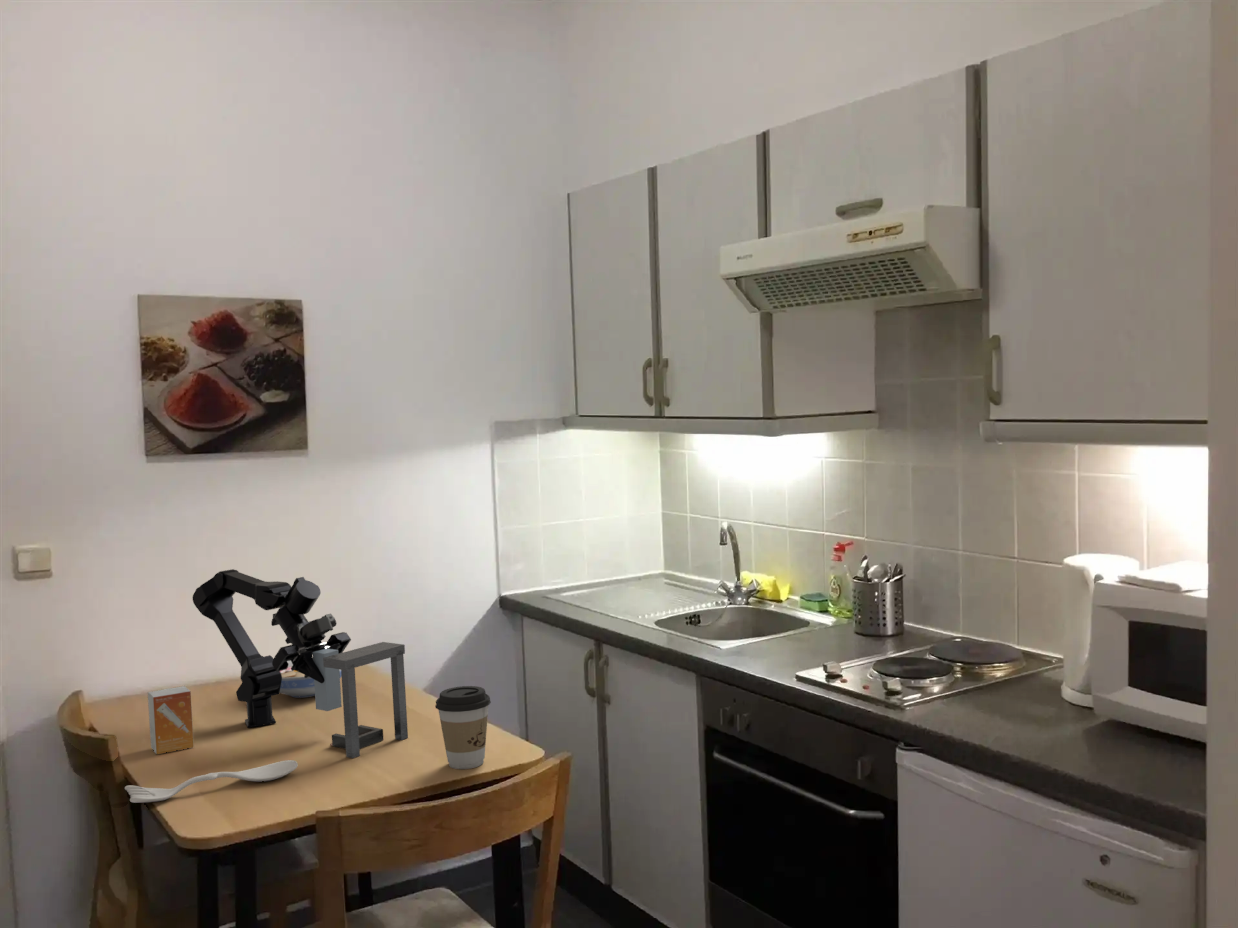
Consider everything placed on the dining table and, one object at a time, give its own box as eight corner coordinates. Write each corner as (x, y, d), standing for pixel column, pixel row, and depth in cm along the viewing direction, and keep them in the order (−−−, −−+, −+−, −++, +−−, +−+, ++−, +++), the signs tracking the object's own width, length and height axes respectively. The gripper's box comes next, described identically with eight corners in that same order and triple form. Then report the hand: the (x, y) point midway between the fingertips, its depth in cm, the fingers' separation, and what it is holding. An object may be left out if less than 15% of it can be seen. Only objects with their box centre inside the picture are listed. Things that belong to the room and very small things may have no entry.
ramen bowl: (285, 682, 303) (283, 653, 302) (364, 681, 300) (363, 652, 299) (242, 707, 278) (240, 675, 278) (328, 707, 275) (326, 674, 275)
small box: (156, 755, 241) (152, 696, 240) (150, 748, 246) (146, 691, 245) (194, 747, 245) (191, 690, 245) (188, 741, 251) (184, 685, 250)
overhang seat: (313, 750, 239) (307, 655, 238) (372, 730, 253) (367, 639, 252) (350, 758, 232) (345, 660, 231) (409, 737, 246) (404, 644, 245)
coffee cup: (469, 775, 218) (465, 701, 217) (426, 768, 224) (422, 695, 223) (505, 758, 227) (501, 687, 226) (462, 751, 233) (459, 682, 233)
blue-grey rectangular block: (315, 708, 248) (312, 651, 247) (329, 704, 251) (326, 648, 250) (327, 711, 245) (324, 653, 245) (341, 706, 249) (338, 649, 248)
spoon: (125, 801, 213) (124, 783, 213) (292, 767, 229) (291, 751, 229) (130, 815, 205) (129, 796, 205) (303, 779, 221) (302, 762, 221)
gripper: (277, 611, 242) (312, 666, 236) (343, 597, 257) (378, 648, 251) (256, 643, 247) (291, 698, 241) (323, 628, 262) (357, 678, 256)
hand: (331, 679), depth 247 cm, fingers closed on blue-grey rectangular block, 4 cm apart
